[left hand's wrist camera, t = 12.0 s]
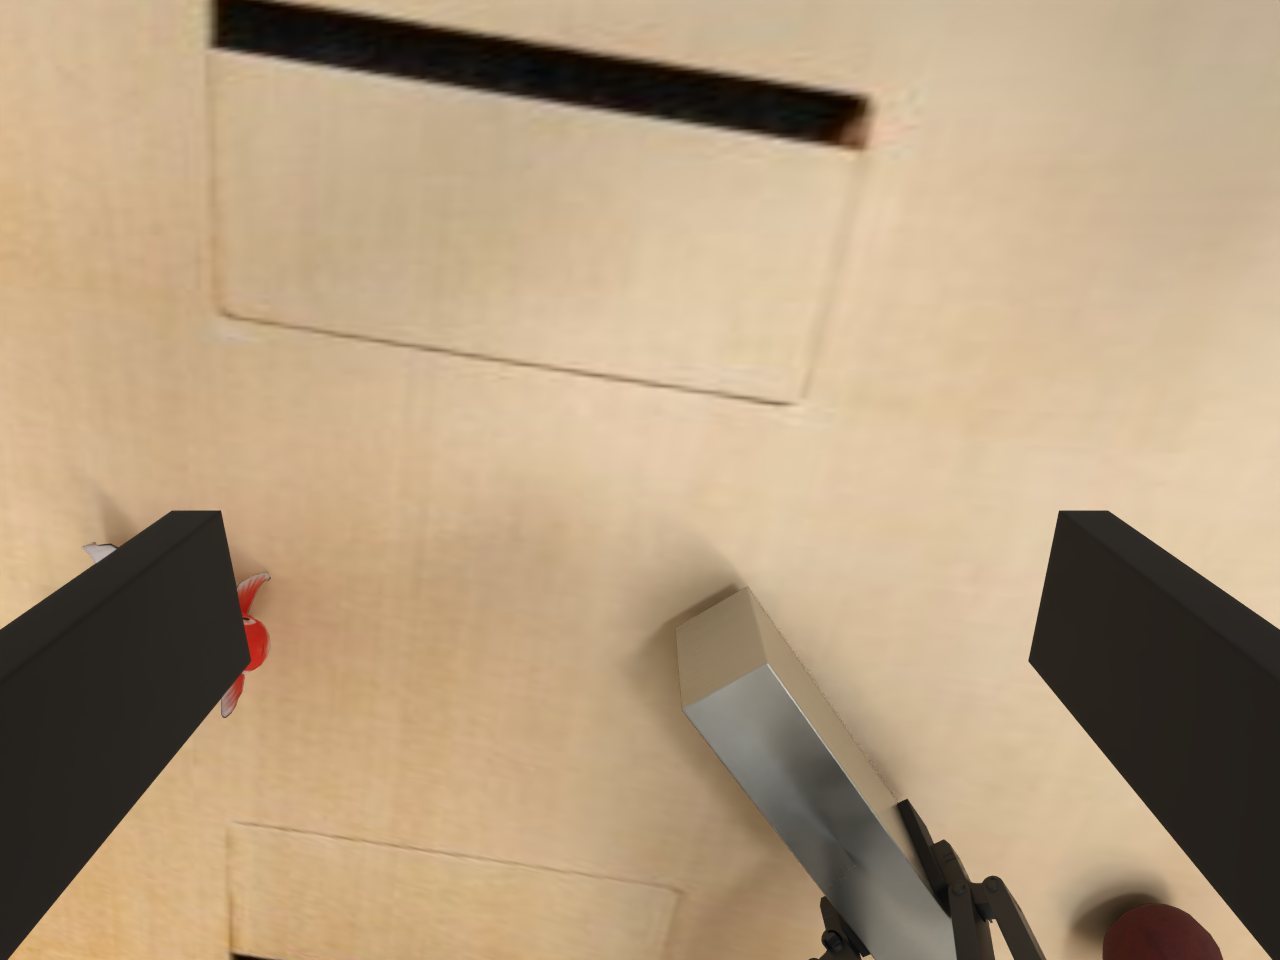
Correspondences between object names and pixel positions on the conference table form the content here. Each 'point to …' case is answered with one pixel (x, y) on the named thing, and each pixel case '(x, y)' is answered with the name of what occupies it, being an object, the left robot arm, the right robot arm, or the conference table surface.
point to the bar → (808, 778)
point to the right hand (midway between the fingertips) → (871, 834)
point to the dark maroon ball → (1158, 936)
